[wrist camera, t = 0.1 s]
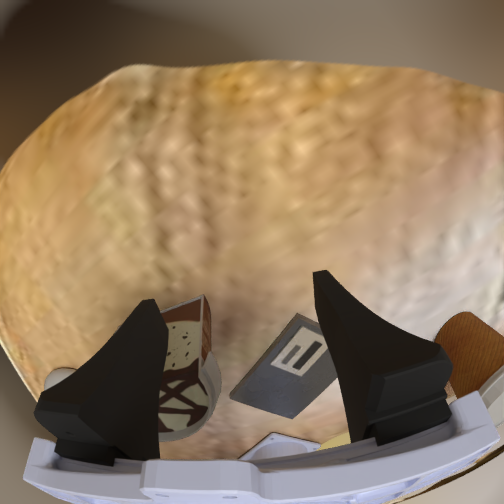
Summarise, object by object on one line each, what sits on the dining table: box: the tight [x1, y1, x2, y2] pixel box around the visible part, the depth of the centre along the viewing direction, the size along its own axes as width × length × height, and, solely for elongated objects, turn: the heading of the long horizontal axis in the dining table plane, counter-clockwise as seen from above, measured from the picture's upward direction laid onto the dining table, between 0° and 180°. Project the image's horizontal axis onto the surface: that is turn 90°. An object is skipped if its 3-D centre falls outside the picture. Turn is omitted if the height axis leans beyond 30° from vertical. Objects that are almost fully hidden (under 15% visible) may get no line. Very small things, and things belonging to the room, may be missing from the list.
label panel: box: [230, 313, 338, 419], centre depth 28 cm, size 12×8×1 cm, turn 149°
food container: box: [113, 294, 222, 442], centre depth 22 cm, size 12×6×10 cm, turn 113°
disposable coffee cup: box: [435, 312, 504, 428], centre depth 23 cm, size 10×10×12 cm
